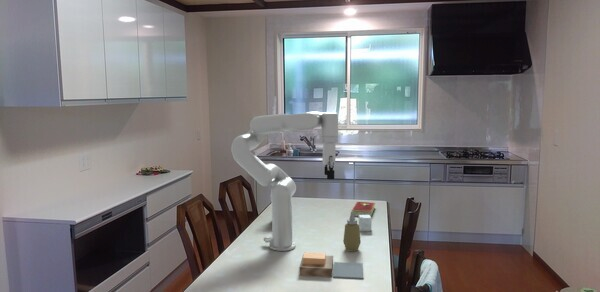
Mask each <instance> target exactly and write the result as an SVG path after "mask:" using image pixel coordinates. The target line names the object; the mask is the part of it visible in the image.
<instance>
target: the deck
mask: <svg viewBox="0 0 600 292" xmlns="http://www.w3.org/2000/svg"><path fill="white" fill-rule="evenodd" d="M303 256H304V254H302V257H301V261H300V264H299V268H298V269H299V271H298V273H299V276H304V277H305V276H306V277H307V276H308V277H325V278H326V277H327V278H333V271H334V255H326V260H325V265H321V264H303Z"/></svg>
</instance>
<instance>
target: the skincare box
mask: <svg viewBox="0 0 600 292" xmlns="http://www.w3.org/2000/svg"><path fill="white" fill-rule="evenodd" d="M372 218H373V217H372V216H371V217H370V215H359V216H358V225H359V229H360V232H372V221H373V220H372Z"/></svg>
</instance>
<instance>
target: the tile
mask: <svg viewBox="0 0 600 292" xmlns="http://www.w3.org/2000/svg"><path fill="white" fill-rule="evenodd" d="M303 255H304V256H303ZM303 255H302V257H303V264H321V265H325V260H326V256H327V253H326V252H307V251H306V252H304V254H303Z"/></svg>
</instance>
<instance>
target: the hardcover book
mask: <svg viewBox="0 0 600 292" xmlns="http://www.w3.org/2000/svg"><path fill="white" fill-rule="evenodd" d="M375 205H376V202H369V201H356V203H355V205H354V206H353V208H352V210H351V212H354V217H359V215H370V217H371V218H372V215H373V212H374V210H375Z"/></svg>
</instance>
